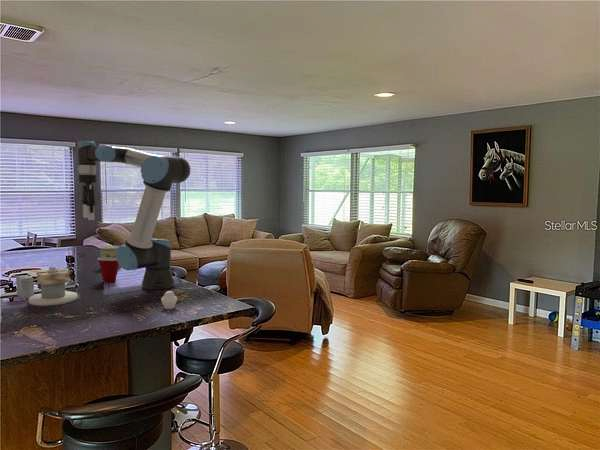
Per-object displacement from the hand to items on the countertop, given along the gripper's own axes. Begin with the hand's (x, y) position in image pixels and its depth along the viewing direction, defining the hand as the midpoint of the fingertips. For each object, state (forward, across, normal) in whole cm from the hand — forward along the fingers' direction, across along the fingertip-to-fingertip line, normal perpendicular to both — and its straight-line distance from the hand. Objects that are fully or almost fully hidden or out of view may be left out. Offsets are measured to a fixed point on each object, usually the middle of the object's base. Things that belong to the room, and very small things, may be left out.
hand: (88, 218), depth 214 cm
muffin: (+32, +61, +19) cm, 71 cm away
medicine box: (+32, +13, -28) cm, 44 cm away
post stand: (+32, +24, -18) cm, 44 cm away
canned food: (+32, -38, +17) cm, 52 cm away
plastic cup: (+32, 0, +9) cm, 33 cm away
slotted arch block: (+24, +24, -18) cm, 39 cm away
